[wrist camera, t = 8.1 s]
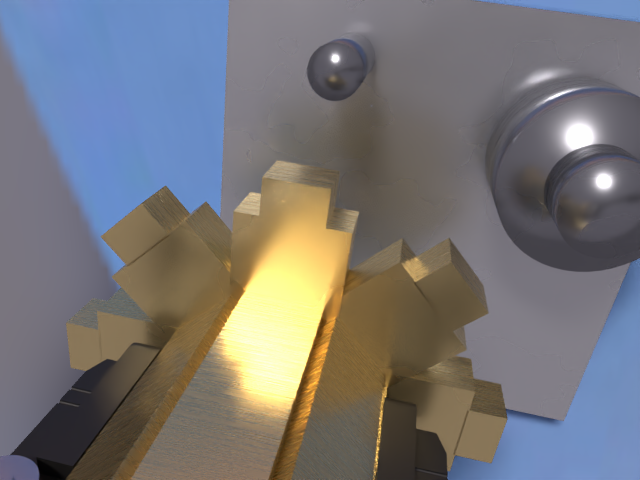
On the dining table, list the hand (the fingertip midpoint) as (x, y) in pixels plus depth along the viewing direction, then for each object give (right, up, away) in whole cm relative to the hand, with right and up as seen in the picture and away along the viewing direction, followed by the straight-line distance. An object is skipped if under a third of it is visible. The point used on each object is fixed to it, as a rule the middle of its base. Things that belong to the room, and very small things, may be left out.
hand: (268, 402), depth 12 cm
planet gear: (0, +1, +1) cm, 2 cm away
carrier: (+5, +5, +7) cm, 10 cm away
